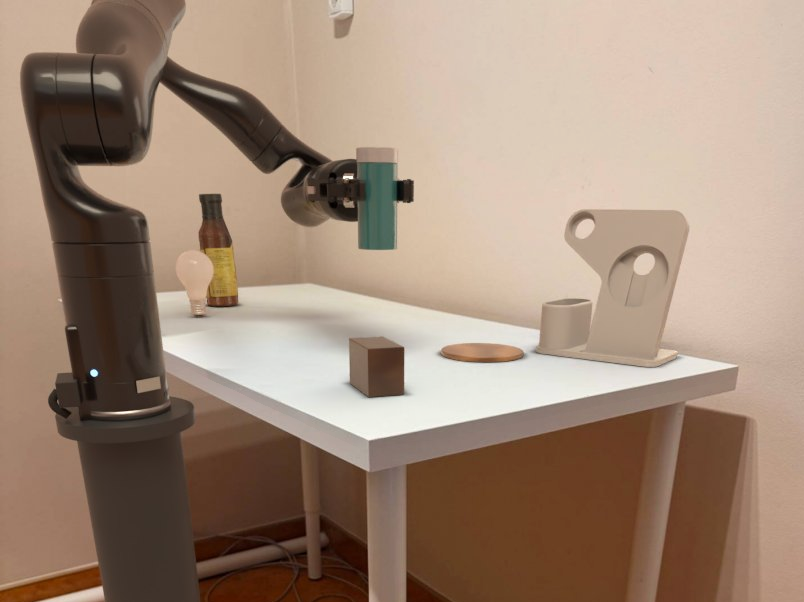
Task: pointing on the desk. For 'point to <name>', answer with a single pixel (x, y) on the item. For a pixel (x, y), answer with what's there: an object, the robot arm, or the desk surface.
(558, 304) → the phone holder
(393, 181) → the salt shaker
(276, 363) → the desk surface
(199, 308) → the lightbulb
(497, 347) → the cork coaster
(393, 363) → the walnut block
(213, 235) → the sauce bottle
